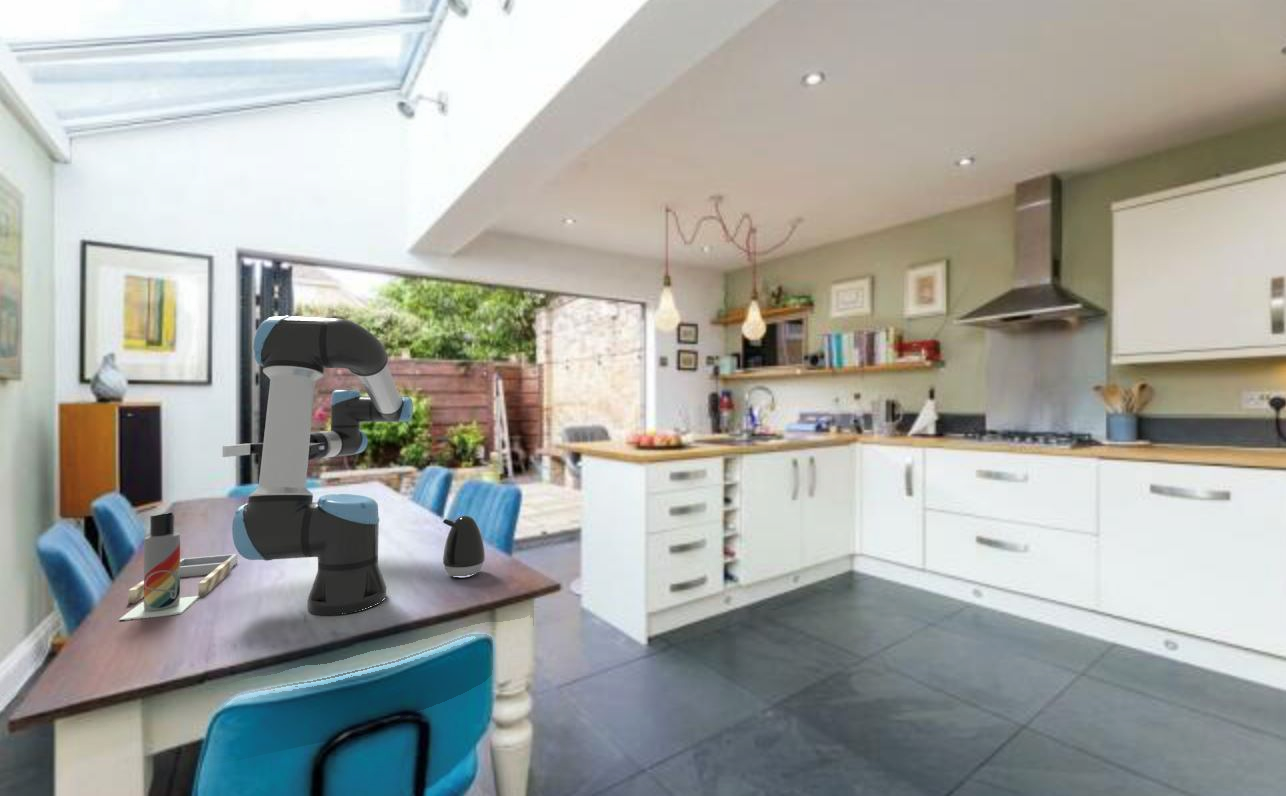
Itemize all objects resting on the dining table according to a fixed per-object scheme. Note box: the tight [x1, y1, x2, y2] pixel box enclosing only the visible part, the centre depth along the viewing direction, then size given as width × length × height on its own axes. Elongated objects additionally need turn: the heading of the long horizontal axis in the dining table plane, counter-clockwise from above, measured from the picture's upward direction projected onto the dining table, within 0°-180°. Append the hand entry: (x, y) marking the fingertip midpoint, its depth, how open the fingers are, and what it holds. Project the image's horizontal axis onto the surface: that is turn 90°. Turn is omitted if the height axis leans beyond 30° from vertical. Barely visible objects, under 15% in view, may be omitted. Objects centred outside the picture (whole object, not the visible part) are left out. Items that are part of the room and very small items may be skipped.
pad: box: [118, 595, 201, 621], centre depth 114 cm, size 10×10×1 cm
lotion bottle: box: [143, 511, 181, 611], centre depth 114 cm, size 6×6×20 cm
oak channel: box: [127, 561, 231, 604], centre depth 127 cm, size 18×13×3 cm
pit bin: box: [180, 553, 238, 578], centre depth 139 cm, size 9×12×2 cm
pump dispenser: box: [442, 515, 486, 577], centre depth 137 cm, size 10×10×15 cm
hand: (246, 452), depth 128 cm, fingers open, 13 cm apart
